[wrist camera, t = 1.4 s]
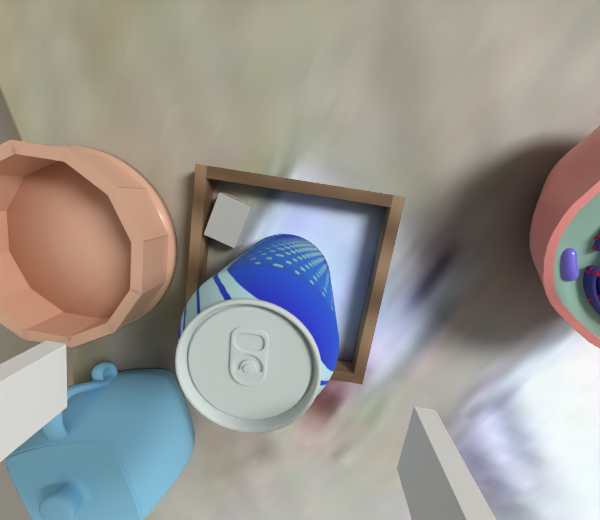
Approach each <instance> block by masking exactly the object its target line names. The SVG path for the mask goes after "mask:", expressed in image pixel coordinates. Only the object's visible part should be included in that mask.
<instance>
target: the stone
mask: <svg viewBox="0 0 600 520" xmlns="http://www.w3.org/2000/svg"><path fill="white" fill-rule="evenodd" d="M256 207H257V206H255V205H253V204H251V203H248V202H246V201H244V200H242V199H240V198H237V197H235V196H233V195H231V194H229V193H221V192H219V195H218V197H217V200H216V203H215V205H214V208H213V211H212V213H211V216H210V219H209V221H208V224H207V227H206V229H205V232H204V235H206V236H208V237H211V238H213V239H215V240H217V241H219V242H222V243H224V244H226V245H228V246H230V247H233V248H236V247H238V246H239V245H241V244H242V241H243V239H244V236H245V234H246V231H247V229H248V226H249V224H250V221H251V219H252V216H253V214H254V212H255V209H256Z"/></svg>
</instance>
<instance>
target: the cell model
mask: <svg viewBox="0 0 600 520" xmlns="http://www.w3.org/2000/svg"><path fill="white" fill-rule="evenodd" d="M530 252H531V255H532V259H533V262H534V265H535V267H536V270H537V272H538V274H539V277H540V279H541V282H542V285H543V287H544V290H545V293H546V295H547V297H548V299H549V302H550V304H551V305H552V306H553V307H554V309H555V310H556V311H557V312H558V313H559V314H560V315H561V316H562V317H563V319H564V320H565V321H566V322H567V323H568V324H569V325H570V326H572V327H573V328H574V329H575V330H576V331H577V332H578V333H579V334H580V335H582V336H583V337H584V338H585V339H586V340H587V341H588V342H590V343H591V344H593V345H595V346H597V347H598V348H600V127H598V128H597V129H596V130H595V131H593V132H592V133H591V134H589V135H588V136H587V137H586V138H584V139H583V140H582V141H581V142H579V143H578V144H577V145H576V146H575V147H573V148H572V149H571V150H570V151H569V152H567V153H566V154H565V155H564V156H563V157H562V158H561V159H560V160H559V161H558V162H557V164H556V165H555V166H554V167H553V168H552V170H551V171H550V173H549V175H548V177H547V179H546V181H545V183H544V186H543V189H542V191H541V194H540V197H539V199H538V202H537V205H536V208H535V210H534V214H533V218H532V223H531V228H530Z"/></svg>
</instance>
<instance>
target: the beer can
mask: <svg viewBox="0 0 600 520" xmlns="http://www.w3.org/2000/svg"><path fill="white" fill-rule="evenodd" d="M338 352H339V335H338V328H337V321H336V314H335V307H334V300H333V293H332V286H331V279H330V272H329V267H328V264H327V262H326V260H325V258H324V256H323V254H322V253H321V252H320V250H319V249H318V248H317V247H316V246H315V245H313V244H312V243H311V242H309V241H307V240H306V239H304V238H301V237H299V236H295V235H290V234H278V235H273V236H270V237H267V238H265V239H263V240H261V241H259V242H258V243H257V244H255V245H254V246H253V247H251V248H250V249H249V250H247V251H246V252H245V253H243V254H242V255H240V256H239V257H238V258H236V259H235V260H234V261H232V262H231V263H230V264H228V265H227V266H226V267H224V268H223V269H222V270H220V271H219V272H218V273H216V274H215V275H214V276H212V277H211V278H210V279H208V280H207V281H206V282H204V283H203V284H202V285H201V286H200V287H199V288H198V289H197V290H196V292H195V293H194V294H193V295H192V297H191V298H190V300H189V301H188V303H187V305H186V307H185V309H184V312H183V314H182V318H181V321H180V326H179V341H178V345H177V348H176V354H175V369H176V375H177V378H178V382H179V384H180V387H181V389H182V391H183V393H184V395H185V396H186V398H187V399H188V401H189V402H190V403H191V404H192V406H193V407H194V408H195V409H196V410H197V411H198V412H199V413H200V414H202V415H203V416H204V417H206V418H207V419H209V420H210V421H212V422H214V423H215V424H217V425H219V426H222V427H224V428H227V429H230V430H234V431H238V432H244V433H264V432H270V431H274V430H278V429H280V428H283V427H285V426H287V425H289V424H291V423H293V422H294V421H296V420H297V419H298V418H300V417H301V416H302V415H303V414H304V413H305V412H306V411H307V410H308V408H309V407H310V406H311V404H312V403H313V401H314V399H315V397H316V396H317V395H318V394H319V393H320V392H321V391H322V389H323V388H324V387H325V386H326V384H327V383H328V381H329V379H330V378H331V376H332V374H333V371H334V369H335V366H336V363H337V358H338Z"/></svg>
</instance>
